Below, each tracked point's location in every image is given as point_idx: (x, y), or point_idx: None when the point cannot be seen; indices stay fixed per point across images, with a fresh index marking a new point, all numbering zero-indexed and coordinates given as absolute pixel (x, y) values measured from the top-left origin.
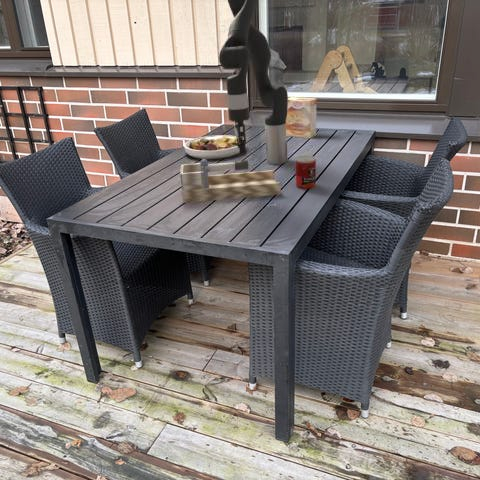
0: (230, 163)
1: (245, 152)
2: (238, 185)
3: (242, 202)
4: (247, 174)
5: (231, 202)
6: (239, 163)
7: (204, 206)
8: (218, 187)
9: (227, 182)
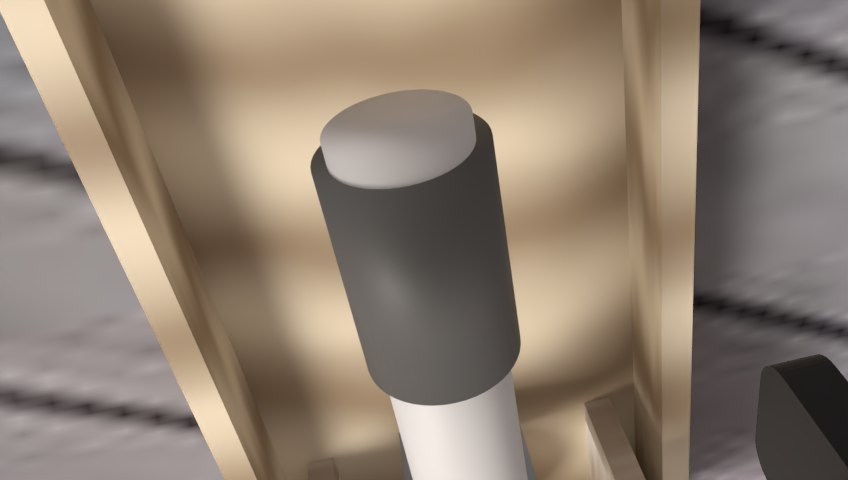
0: (490, 436)
1: (827, 362)
2: None
3: (785, 24)
4: (92, 88)
5: (748, 141)
6: (497, 309)
7: (772, 344)
8: (666, 347)
9: (226, 285)
